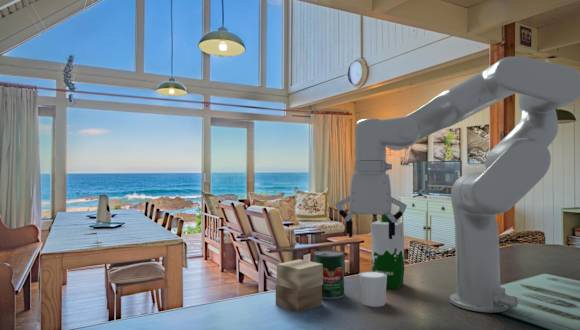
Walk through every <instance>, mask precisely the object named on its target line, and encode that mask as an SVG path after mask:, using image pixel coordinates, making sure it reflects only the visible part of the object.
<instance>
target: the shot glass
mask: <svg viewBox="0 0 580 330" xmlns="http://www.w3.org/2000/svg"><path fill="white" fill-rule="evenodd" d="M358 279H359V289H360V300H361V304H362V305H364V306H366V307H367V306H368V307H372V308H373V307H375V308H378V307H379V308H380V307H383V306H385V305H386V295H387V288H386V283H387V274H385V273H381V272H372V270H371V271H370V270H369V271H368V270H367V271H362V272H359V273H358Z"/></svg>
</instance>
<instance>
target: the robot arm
mask: <svg viewBox="0 0 580 330" xmlns="http://www.w3.org/2000/svg"><path fill="white" fill-rule="evenodd" d="M514 94H518V105H519V108H520V109H519V110H520V119H519V122H518V123H517V124H516V125H515V126H514V127H513V129H512V130H510V132H508V134H507V135H505V136H504V138H502V139H501V140H500V141H499V142H498V143H497V144H496V145H495V146H494V147H492V149H490V151H489V152H488V154H487V155H486V157H485V160H484V162H485V163H484V165H485V166H484V167H485V170H484V171H483V172H472V173H465V174H463V175H461V176H460V177H458V178H457V179H456V180H455V181H454V183H453V185H452V187H451V191H450V199H451V200H450V201H451V206H452V211H453V213H452V214H453V220H454V240H455V241H454V245H455V248H454V249H455V275H456V276H455V277H456V278H455V279H456V282H455V283H456V284H455V285H456V292H455V293H452V294H450V296H449V301H450V303H451V304H453V305H454V306H456V307H458V308H460V309H461V308H462V309H464V310H467V311H472V312H478V313H489V314H490V313H491V314H492V313H503V312H505V311H508V310H509V307H510V308H514V309H516V308H517V307H518V304H519V303H518V298H517V296H514V295H509V294H508V295H507V293H506V287H502V286H501V266H500V264H501V263H500V235H499V234H500V232H499V224H498V221H497V215H501V214H504V213H506V212H507V211H509V210H511V209H512V208H513V207H514V206H516V204H518V202H520V201H521V200H522V198H524V197H525V196H526V195H527V194H528V193H529V192H530V191H531V190H532V189H533V188H534V187H535V186H536V185H537V184H538V183H539V182H541V180H542V179H543V178H544V177H545V175H547V173H548V171H549V169H550V166H551V163H552V157H551V152H550V149H549V148H548V147H550V145H551V144H553V142H554V140H555V139H556V137H557V135H558V131H559V121H558V116H557V115H558V114H557V109H559V108H560V109H561V108H563V107H566V106H569V105H571V104H574V103H575V102H577V101H578V100H580V71H578V70H577V69H575V68H573V67H570V66H568V65H563V64H559V63H554V62H549V61H543V60H539V59H534V58H529V57H522V56H505V57H503V58H501V59H499V60H498V61H496V62H494V63H493V64H491V65H490V66H489V67H487V68H485V69H483V70H481V71H480V72H478V73H476V74H474V75H472V76H471V77H468V78H467V79H465V80H463V81H461V82H459V83H458V84H456V85H454V86H452V87H450V88H449V89H446V90H444V91H442V92H440V93H439V94H438V95H437V96H435V97H433V98H432V99H431V100H430V101H428V102H427V103H425V104H424V105H422V106H420V107H419V108H418V109H416V110H414V111H412V112H411V113H409V114H407V115H405V116H400V117H392V118H383V119H381V118H362V119H359V120H358V121H356V123H355V129H354V133H355V134H354V137H355V139H354V141H355V143H354V147H355V148H354V157H355V159H354V160H355V163H354V165H355V166H354V173H353V174H351V179H350V188H349V189H350V190H349V196H348V197H345V198H343V199H341V200H339V201H337V202H336V203H335V207H336V209H337V212H338V213H339V215H340V216H341V217H342V218H343V219H344V220H345V222H346V223H345V224H346V225H345V226H346V227H345V228H346V231H345V232H346V234H347V235H348V238H353V233H354V232H353V229H354V228H353V227H354V226H353V217H354V216H355V215H381V216H382V215H384V214H386V216H387V217H388V218H389V219H390V221H389V239H392V235H395V222H396V221H399V220H400V218H402V216H403V215H404V213H405V211H406V209H407V208H408V207H407V204H406V203H404V202H402V201H400V200H398V199H396V198H395V197H392V189H391V180H390V179H391V178H390V176H389V174H388V173H387V171H389V170H392V169H393V164H392V163H388V162H387V149H389V150H392V151H395V152H396V151H403V150H405V149H406V148H410V147H412V146H414V144H416V143H417V142H418V141H420V140H422V139H425V138H426V137H428V136H431V135H432V134H434V133H436V132H440V131H441V130H443V129H446V128H449V127H452V126H454V125H457V124H458V123H460V122H462V121H465V120H466V119H468V118H469V117H472V116H474V115H475V114H477V113H480V112H482V111H484V110H485V109H488V108H489V107H490V106H493V105H495V104H497V103H498V102H501V101H502V100H504V99H506V98H508V97H510V96H512V95H514ZM386 148H387V149H386ZM348 203H349V210H350V211H349V213H347V212H346V211H345V210H344V208H343V205H346V204H348ZM392 204H394V205H396V206H397V207H399V209H398V211H397V212H396V213H395V214H393V213H391V212H392ZM392 214H393V215H394V216H393V215H392Z"/></svg>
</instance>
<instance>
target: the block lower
mask: <svg viewBox="0 0 580 330" xmlns="http://www.w3.org/2000/svg"><path fill="white" fill-rule="evenodd" d="M275 306H278V307H282V308H284V309H287V310H289V311H293V312H295V313H297V314H299V313H302V312H304V311H308V310H311V309H314V308H318V307H321V306H323V298H322V285H320V286H317V287H313V288H310V289H306V290H303V291H296V290H293V289H290V288H286V287H283V286H280V285H277V283H276V284H275Z"/></svg>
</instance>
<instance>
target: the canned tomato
mask: <svg viewBox="0 0 580 330" xmlns="http://www.w3.org/2000/svg"><path fill="white" fill-rule="evenodd" d="M344 255H345V253H344V251H339V250H332V249H331V250H329V249H328V250H325V249H324V250H316V251H314V252H313V258H314V259H313V260H314V261H313V262H315V263H320V264H323V285H322V300H323V299H325V300H337V299H342V298H344V297H345V263H344V262H345V260H344V259H345V258H344Z"/></svg>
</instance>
